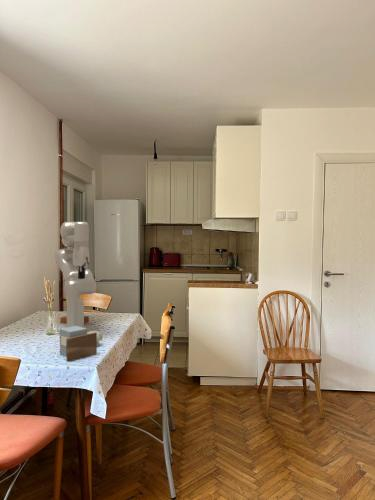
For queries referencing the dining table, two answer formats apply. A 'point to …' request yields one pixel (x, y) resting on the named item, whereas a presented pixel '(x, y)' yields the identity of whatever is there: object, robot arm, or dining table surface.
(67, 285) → the robot arm
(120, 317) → the dining table surface
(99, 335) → the sage mug
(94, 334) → the board
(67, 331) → the grey box
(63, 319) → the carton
